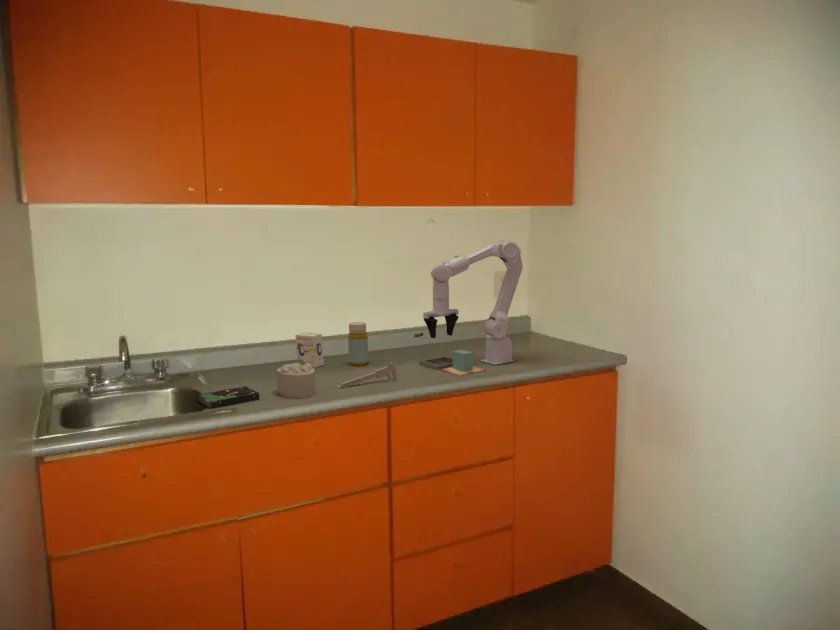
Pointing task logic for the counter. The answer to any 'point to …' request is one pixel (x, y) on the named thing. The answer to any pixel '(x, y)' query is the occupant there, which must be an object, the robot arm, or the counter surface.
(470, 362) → the block
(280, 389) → the cup of cotton balls
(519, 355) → the counter surface
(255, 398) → the disk drive
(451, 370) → the board
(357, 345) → the bottle
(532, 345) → the counter surface
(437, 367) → the grey flat square frame
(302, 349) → the ink box
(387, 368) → the caliper
